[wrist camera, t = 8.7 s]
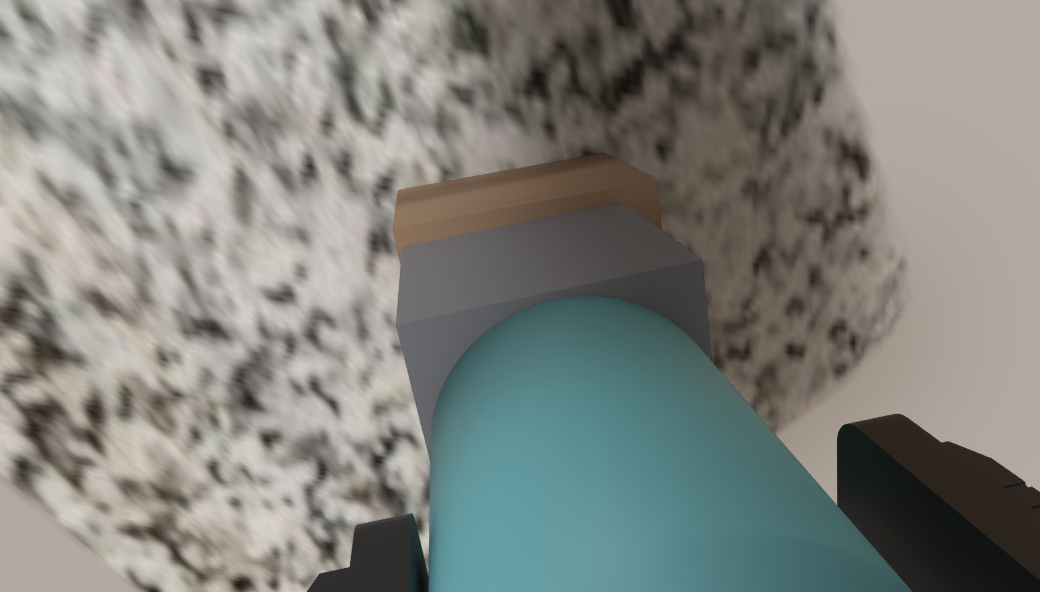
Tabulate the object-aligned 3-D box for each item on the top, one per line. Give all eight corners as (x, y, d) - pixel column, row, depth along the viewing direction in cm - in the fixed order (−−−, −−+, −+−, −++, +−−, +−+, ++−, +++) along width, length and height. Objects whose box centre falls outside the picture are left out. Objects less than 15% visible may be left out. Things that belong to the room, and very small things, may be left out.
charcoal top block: (402, 246, 16) (396, 324, 11) (620, 201, 16) (701, 259, 12) (449, 441, 18) (460, 580, 13) (646, 397, 18) (727, 516, 13)
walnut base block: (398, 189, 21) (392, 228, 16) (603, 152, 21) (657, 179, 16) (438, 378, 23) (444, 462, 18) (625, 340, 23) (678, 413, 18)
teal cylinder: (400, 330, 11) (364, 609, 6) (709, 268, 12) (967, 478, 6) (462, 583, 13) (482, 991, 7) (731, 525, 13) (948, 877, 8)
